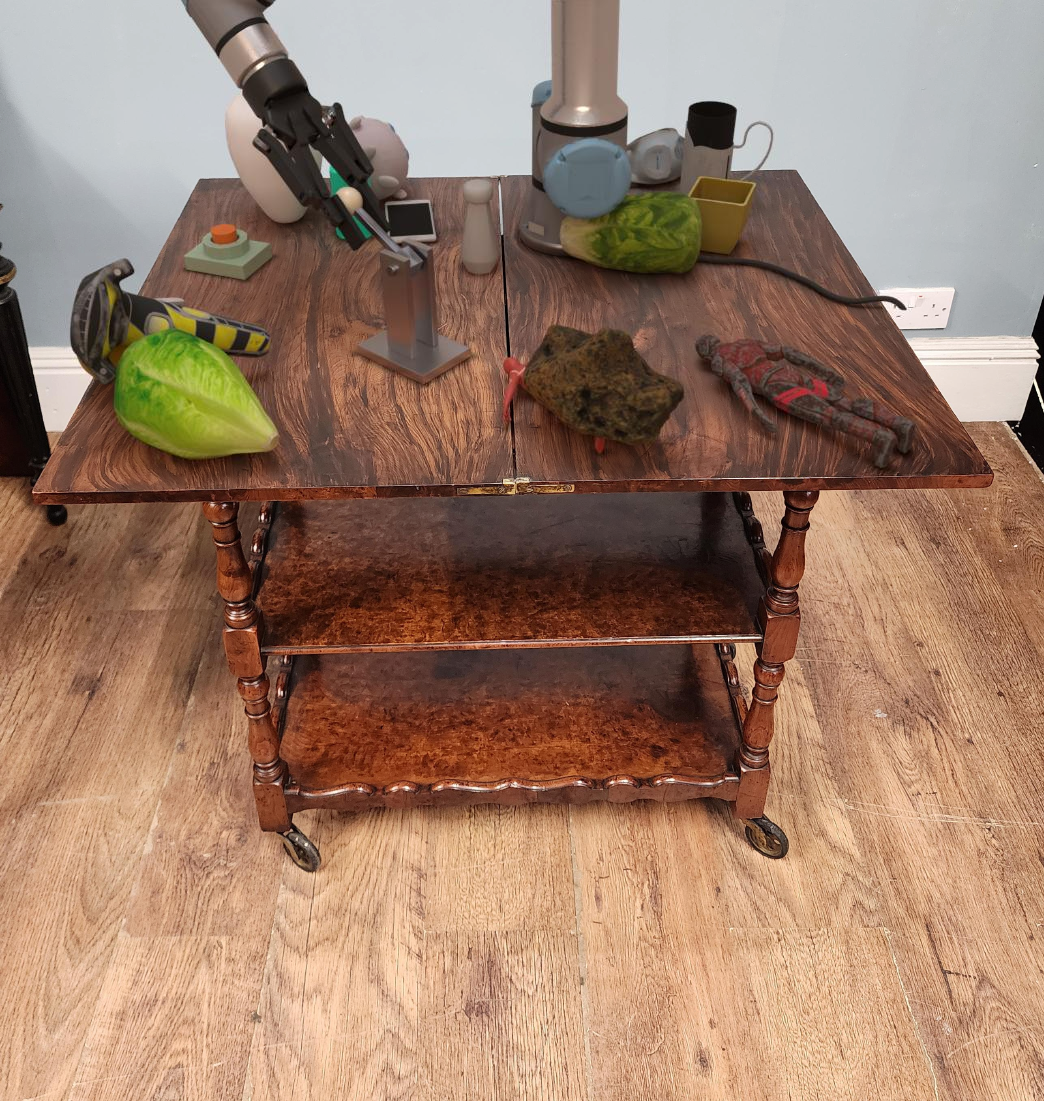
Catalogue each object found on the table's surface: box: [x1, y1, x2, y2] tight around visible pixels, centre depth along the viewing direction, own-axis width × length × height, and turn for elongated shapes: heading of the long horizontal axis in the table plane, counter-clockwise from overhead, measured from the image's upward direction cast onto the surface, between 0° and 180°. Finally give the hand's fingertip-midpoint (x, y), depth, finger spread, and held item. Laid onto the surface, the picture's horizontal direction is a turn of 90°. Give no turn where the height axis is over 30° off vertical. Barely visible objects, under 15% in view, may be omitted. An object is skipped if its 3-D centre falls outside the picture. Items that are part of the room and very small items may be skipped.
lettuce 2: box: [559, 190, 702, 276], centre depth 157 cm, size 12×21×11 cm, turn 86°
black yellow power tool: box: [69, 257, 272, 385], centre depth 126 cm, size 14×26×10 cm
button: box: [210, 223, 238, 245], centre depth 159 cm, size 4×4×2 cm
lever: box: [335, 187, 423, 277], centre depth 134 cm, size 14×4×4 cm, turn 50°
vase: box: [224, 29, 324, 224], centre depth 164 cm, size 14×14×28 cm
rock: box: [522, 324, 685, 446], centre depth 122 cm, size 13×12×20 cm
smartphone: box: [384, 199, 438, 245], centre depth 172 cm, size 8×1×15 cm
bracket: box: [356, 238, 472, 386], centre depth 137 cm, size 12×9×15 cm
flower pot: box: [688, 176, 757, 255], centre depth 163 cm, size 9×9×9 cm
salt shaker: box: [459, 178, 500, 276], centre depth 156 cm, size 6×6×13 cm
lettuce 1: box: [113, 328, 280, 461], centre depth 123 cm, size 14×20×12 cm
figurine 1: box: [502, 356, 606, 453], centre depth 131 cm, size 16×4×20 cm
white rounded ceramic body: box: [627, 127, 685, 185], centre depth 183 cm, size 9×19×10 cm
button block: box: [183, 228, 273, 281], centre depth 161 cm, size 10×8×4 cm
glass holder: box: [678, 100, 774, 195], centre depth 172 cm, size 9×14×15 cm, turn 74°
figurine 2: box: [695, 333, 917, 469], centre depth 131 cm, size 14×5×30 cm
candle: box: [328, 164, 373, 240], centre depth 166 cm, size 6×6×12 cm
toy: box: [348, 115, 410, 201], centre depth 176 cm, size 14×12×15 cm
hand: (372, 239), depth 135 cm, fingers closed on lever, 4 cm apart
